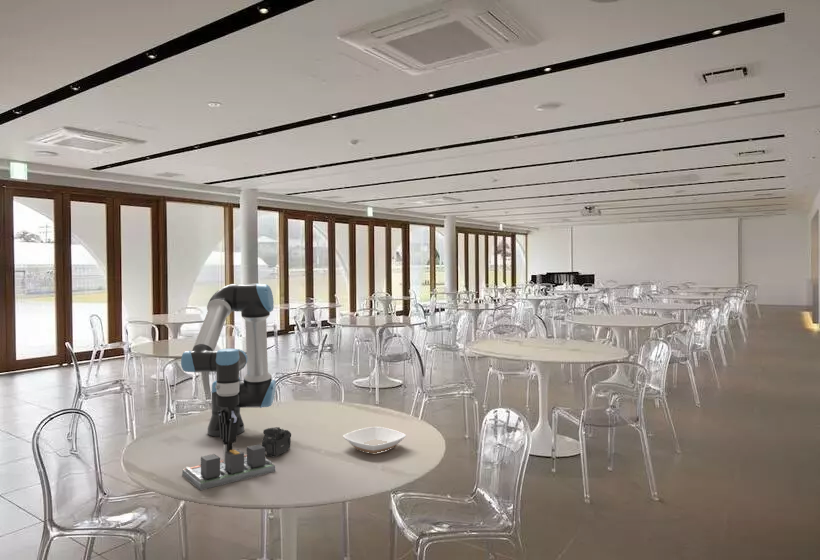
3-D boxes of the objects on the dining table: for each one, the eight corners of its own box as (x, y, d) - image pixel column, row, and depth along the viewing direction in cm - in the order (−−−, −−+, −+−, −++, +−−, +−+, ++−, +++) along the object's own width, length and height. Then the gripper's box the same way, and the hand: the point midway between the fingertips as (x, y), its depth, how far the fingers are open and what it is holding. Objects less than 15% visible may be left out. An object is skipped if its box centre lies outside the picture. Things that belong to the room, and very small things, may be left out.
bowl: (335, 448, 218) (335, 435, 218) (375, 436, 234) (375, 424, 234) (373, 462, 204) (373, 447, 203) (413, 448, 219) (413, 435, 219)
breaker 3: (246, 463, 194) (246, 446, 194) (258, 461, 197) (258, 444, 197) (253, 467, 190) (253, 450, 190) (265, 464, 193) (265, 447, 193)
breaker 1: (200, 474, 184) (200, 456, 184) (214, 471, 187) (214, 453, 187) (206, 479, 180) (206, 460, 180) (220, 475, 183) (220, 457, 183)
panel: (182, 475, 190) (182, 466, 190) (254, 458, 206) (254, 450, 206) (200, 490, 177) (200, 480, 177) (275, 471, 193) (275, 462, 193)
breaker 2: (225, 469, 189) (225, 450, 188) (237, 466, 191) (237, 448, 191) (231, 473, 185) (231, 454, 185) (244, 470, 188) (244, 451, 188)
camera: (266, 447, 220) (266, 422, 220) (292, 447, 220) (292, 422, 220) (259, 458, 207) (258, 432, 207) (285, 458, 207) (285, 431, 207)
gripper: (209, 392, 195) (210, 459, 195) (224, 398, 185) (225, 469, 185) (230, 389, 200) (230, 454, 200) (246, 395, 190) (246, 464, 190)
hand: (228, 461), depth 193 cm, fingers closed
